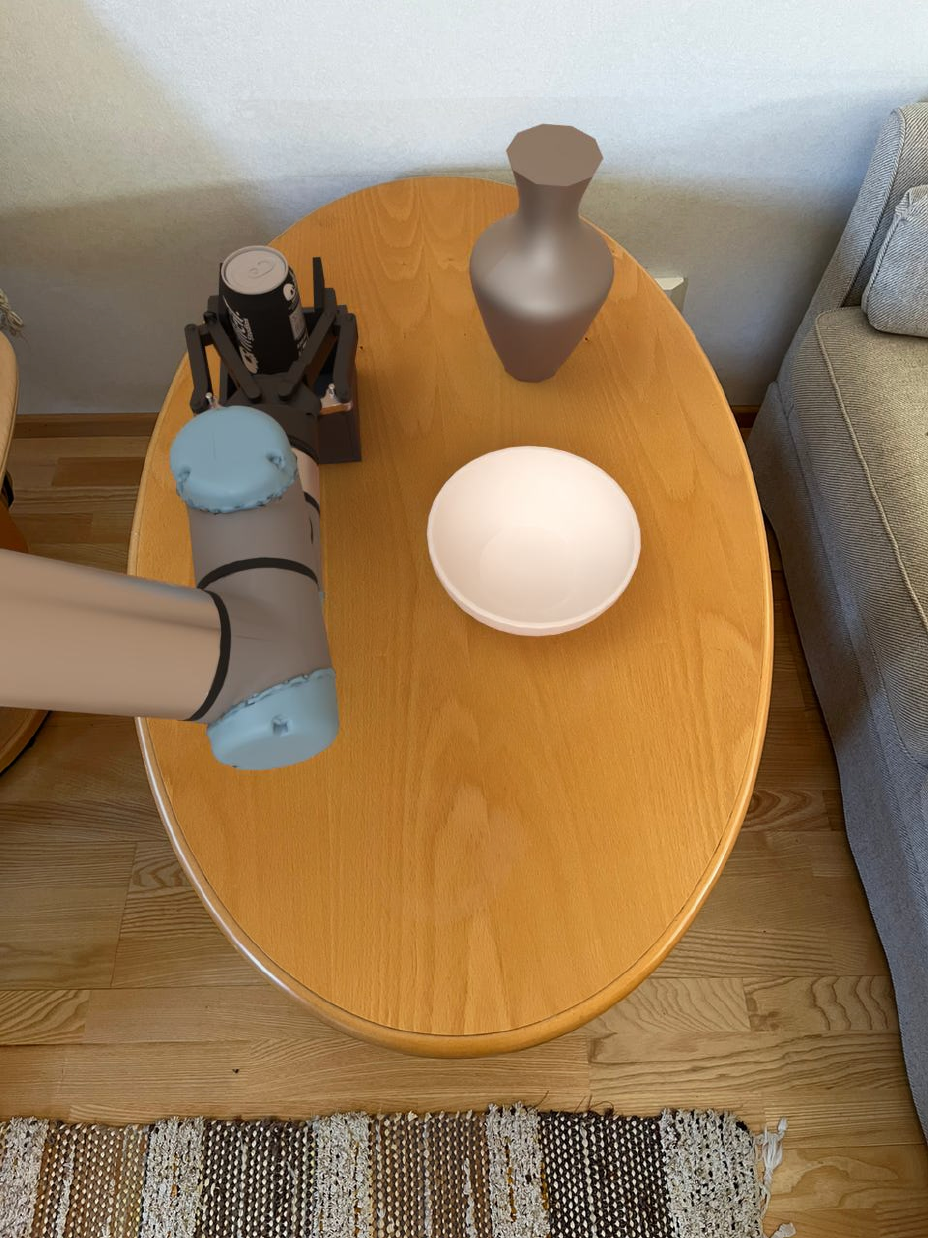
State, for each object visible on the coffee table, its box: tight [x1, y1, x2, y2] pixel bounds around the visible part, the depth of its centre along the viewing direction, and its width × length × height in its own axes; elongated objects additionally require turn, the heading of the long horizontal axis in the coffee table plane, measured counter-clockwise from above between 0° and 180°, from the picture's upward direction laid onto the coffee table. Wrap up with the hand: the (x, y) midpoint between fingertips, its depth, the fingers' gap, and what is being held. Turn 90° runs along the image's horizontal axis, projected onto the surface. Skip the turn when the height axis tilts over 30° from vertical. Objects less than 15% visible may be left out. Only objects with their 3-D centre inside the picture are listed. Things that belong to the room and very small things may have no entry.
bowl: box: [426, 445, 642, 637], centre depth 80 cm, size 20×20×7 cm
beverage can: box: [221, 244, 309, 377], centre depth 78 cm, size 7×7×12 cm
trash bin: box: [218, 304, 363, 466], centre depth 87 cm, size 13×13×10 cm
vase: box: [468, 123, 615, 383], centre depth 84 cm, size 14×14×25 cm
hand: (273, 271), depth 79 cm, fingers open, 8 cm apart
